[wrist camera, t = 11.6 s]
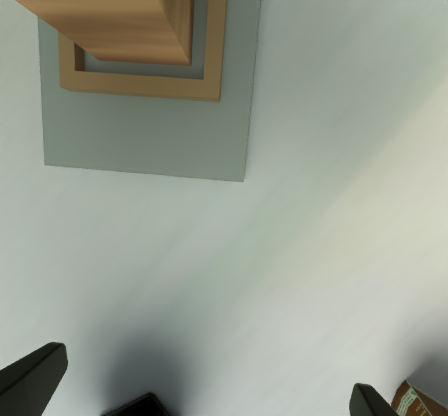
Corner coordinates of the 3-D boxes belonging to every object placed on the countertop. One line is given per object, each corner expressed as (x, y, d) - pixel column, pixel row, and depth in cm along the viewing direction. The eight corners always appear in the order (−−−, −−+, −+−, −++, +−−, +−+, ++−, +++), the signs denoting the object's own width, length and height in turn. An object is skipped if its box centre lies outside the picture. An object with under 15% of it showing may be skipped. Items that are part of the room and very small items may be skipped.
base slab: (243, 180, 19) (243, 183, 16) (63, 164, 20) (33, 165, 17) (274, -147, 16) (282, -218, 13) (53, -153, 16) (12, -223, 13)
